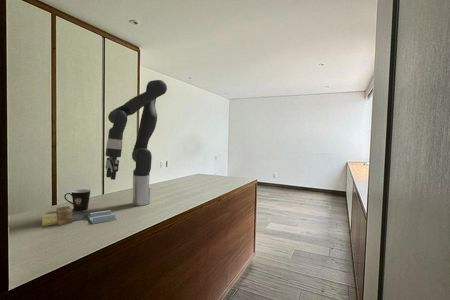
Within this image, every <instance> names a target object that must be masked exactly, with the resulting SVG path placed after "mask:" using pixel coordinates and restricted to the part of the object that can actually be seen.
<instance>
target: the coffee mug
mask: <svg viewBox="0 0 450 300" xmlns="http://www.w3.org/2000/svg"><path fill="white" fill-rule="evenodd" d="M67 195H70V196H71V198H72V201H70V200H68V198H67V197H66V196H67ZM90 196H91V189H87V188H85V189H84V188H82V189H74V190H72V191H71V193H70V192H67V193H65V194H64V197H63V198H64V199H65V201H66V202H67V203H70V204H71V205H72V206H73V212H85V211H88V209H89V202H90Z"/></svg>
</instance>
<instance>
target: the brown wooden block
mask: <svg viewBox="0 0 450 300" xmlns="http://www.w3.org/2000/svg"><path fill="white" fill-rule="evenodd" d="M55 209H56V210H55V211H56V212H55V213H58V224H57V225H58V226H61V225H68V224H72V223H73V221H72V213H73V210H72V208H71V207H70V206H69V205H68V206H60V207H55Z"/></svg>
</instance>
